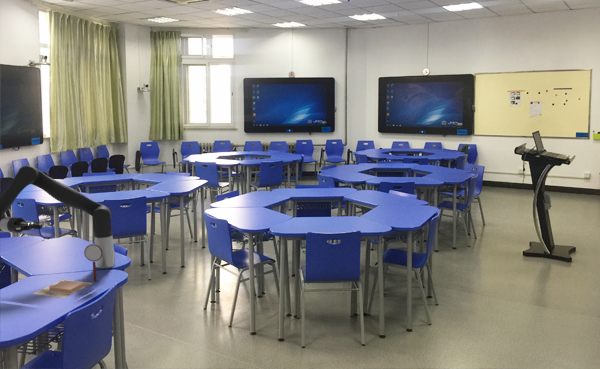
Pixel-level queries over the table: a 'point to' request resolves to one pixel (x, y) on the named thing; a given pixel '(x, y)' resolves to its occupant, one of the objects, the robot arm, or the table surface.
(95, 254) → the magnifying glass
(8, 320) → the table surface
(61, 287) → the tile
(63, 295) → the board
